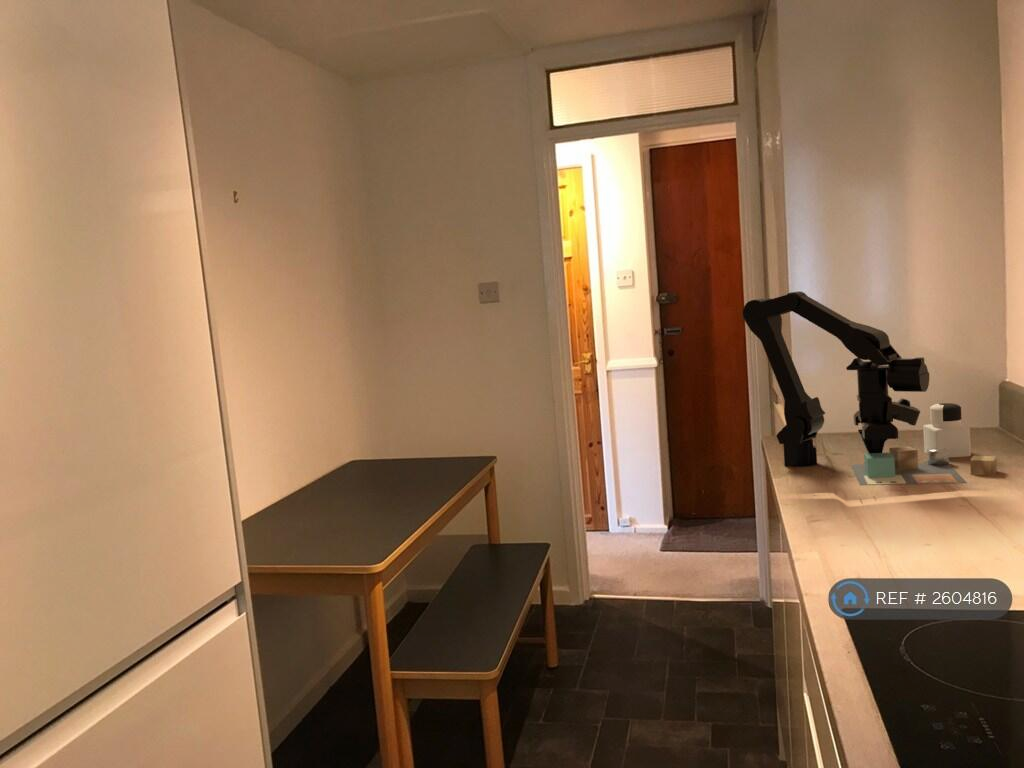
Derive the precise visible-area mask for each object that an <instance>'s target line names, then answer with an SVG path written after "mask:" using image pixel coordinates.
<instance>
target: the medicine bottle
mask: <svg viewBox="0 0 1024 768" xmlns="http://www.w3.org/2000/svg"><path fill="white" fill-rule="evenodd" d="M929 414H930V415H929V416H930V424H929V423H928V424H924V425H923V428H922V429H923V452H924V453H925V454H927V449H930V448H946V449H948V450H949V459H950V458H963V457H964V458H965V457H972V456H971V455H972V454H971V453H972V452H971V451H972V450H971V449H972V447H971V428H970V427H968V426H965V425H963V424H962V420H963V419H962V406H960V405H959V404H957V403H954V402H953V403H951V402H945V403H943V402H942V403H941V402H940V403H934V404H933V405H931V406H930V407H929Z"/></svg>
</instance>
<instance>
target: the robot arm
mask: <svg viewBox="0 0 1024 768" xmlns="http://www.w3.org/2000/svg"><path fill="white" fill-rule="evenodd" d="M790 312H793V313H795V314H796V315H797V316H798V315H799V317H801V318H803V319H805V320H807V321H808V322H810V323H812V324H814V325H815V326H817V327H819V328H821V329H823V330H824V331H826V332H827V333H829V334H830V335H832V336H834V337H835V338H837V339H838V340H839V341H840V342H841V343H842V344H843V346H844V347H845V348H846V349H847V350H848V351H849V352H850V353H851V354H853V355H854V356H855V358H854V359H853V360H852V361H851V362H850V364H848V365H847V366H846V371H856V372H857V373H856V375H857V377H856V378H857V395H856V398H857V399H856V400H857V401H858V410H857V411H856V412H855V413H854V414H853V424H854V426H859V424H861V428H860V429H858V430H857V432H858V434H859V436H860V438H861V441H862V443H863V445H864V447H865V449H866V451H867V453H884V452H883V451H884V446H885V443H886V441H887V440H896V439H898V438H899V428H898V427H897V426H896V425H895V424H894V423H893V422H894V420H896V421H900V422H902V423H906V424H908V425H910V426H916V425H917V422H918V420H919V417H920V414H921V410H920V409H919V408H917V407H915V406H912V405H911V402H910V400H909V399H905V398H902V397H901V398H900V399H899V400H898V401H893V398H892V396H891V397H890V395H889V388H890V389H892V390H893V391H894V392H907V393H908V392H912V393H913V392H917V393H919V392H920V393H925V392H927V390H928V389H929V385H930V372H929V370H928V367H927V364H926V363H925V358H924V357H922V356H921V357H914V358H902V357H901V355H900V354H899V352H898V351H897V350H896V349H895V348H894V347H893V345H891V343H890V342H891V341H890V338H889V335H888V334H887V333H886V332H885V331H883V330H882V329H878V328H876V327H872V326H871V325H870V326H869V325H867V324H863V323H858V322H855V321H852V320H850V319H848V318H847V317H845V316H843V315H841V314H840V313H838V312H836V310H835V311H834V310H832V309H831V308H829V307H828V306H826V305H824V304H822V303H820V302H819V301H817V300H815V299H814V298H812V297H810V296H808V295H807V294H806V293H805V292H804V291H792V292H791V291H790V292H788V293H787V294H785V295H782V296H777V297H773V298H770V297H765V298H757V299H752V300H749V301H747V302H746V303H745V305H744V306H743V309H742V311H741V314H742V318H743V320H744V322H745V323H746V325H747V327H748V328H749V330H750V332H752V333H753V335H755V337H757V338H758V339H759V341H760V342H761V345H762V347H763V350H764V352H765V355H766V357H767V360H768V362H769V365H770V367H771V369H772V373H773V375H774V377H775V380H776V382H777V384H778V386H779V390H780V392H781V395H782V397H783V401H784V402H783V403H784V405H783V406H784V409H783V416H784V420H785V426H783V428H781V430H779V431H778V433H776V438H777V441H778V443H779V444H780V445H782V446H783V463H784V467H792V468H805V467H812V466H817V465H818V456H817V454H818V453H817V447H816V445H814V440H813V439H816V438H817V435H818V432H819V431H820V430H821V429H822V428H823V425H824V424H825V417H824V415H825V414H826V411H824V410H823V408H822V405H821V401H820V398H819V397H818V396H816V397H813V398H812V397H811V396H809V394H808V393H807V392H806V389H805V388H804V386H803V384H802V381H801V378H800V376H799V374H798V371H797V368H796V366H795V363H794V361H793V358H792V356H791V354H790V351H789V348H788V346H787V343H786V340H785V339H784V336H783V332H782V331H783V330H782V329H783V326H782V325H783V324H782V323H783V318H782V315H784V314H788V313H790Z"/></svg>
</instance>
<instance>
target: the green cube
mask: <svg viewBox="0 0 1024 768" xmlns="http://www.w3.org/2000/svg"><path fill="white" fill-rule="evenodd" d="M863 456H864V457H863V459H864V464H865V473H866V475H867V477H868V478H887V477H895V462H894V457H893V455H892V454H891V453H890V452H882V453H868V452H866V453H865V452H864V453H863Z"/></svg>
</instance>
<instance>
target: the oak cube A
mask: <svg viewBox="0 0 1024 768" xmlns="http://www.w3.org/2000/svg"><path fill="white" fill-rule="evenodd" d="M888 451H889V453H891V454H892V455H893V457H894V462H895V469H896V470H899V471H900V470H911V469H918V463H919V459H918V458H919V456H918V451H919V450H918V449H916V448H914V447H912V446H911V447H910V446H909V445H907V446H897V447H896V446H895V447H889V450H888Z"/></svg>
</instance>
